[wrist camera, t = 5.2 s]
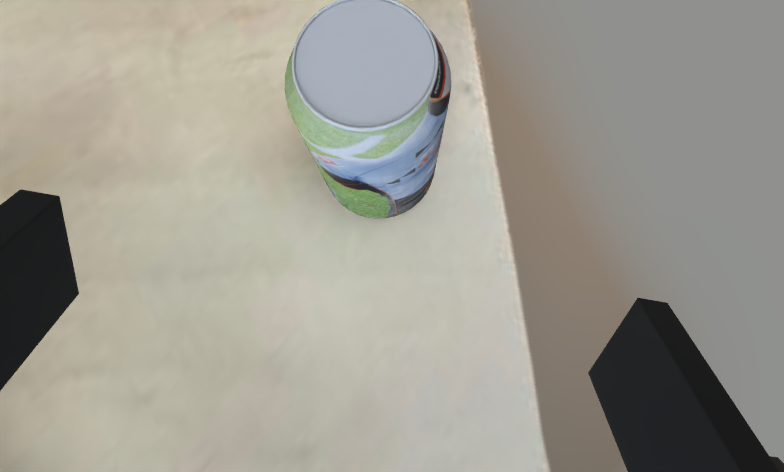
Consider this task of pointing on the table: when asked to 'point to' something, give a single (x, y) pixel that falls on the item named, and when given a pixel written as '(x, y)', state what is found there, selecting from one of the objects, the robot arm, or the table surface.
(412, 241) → the table surface
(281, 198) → the table surface
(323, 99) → the beverage can
